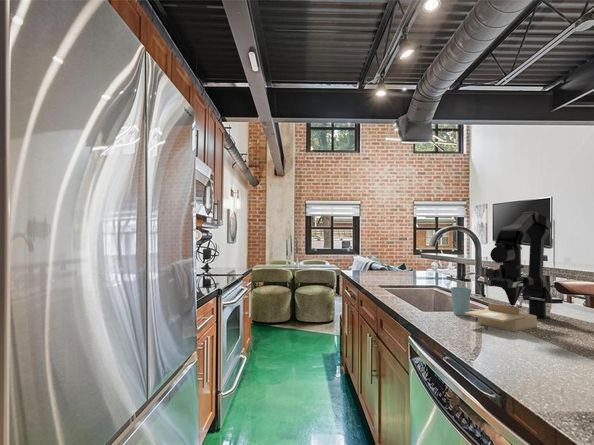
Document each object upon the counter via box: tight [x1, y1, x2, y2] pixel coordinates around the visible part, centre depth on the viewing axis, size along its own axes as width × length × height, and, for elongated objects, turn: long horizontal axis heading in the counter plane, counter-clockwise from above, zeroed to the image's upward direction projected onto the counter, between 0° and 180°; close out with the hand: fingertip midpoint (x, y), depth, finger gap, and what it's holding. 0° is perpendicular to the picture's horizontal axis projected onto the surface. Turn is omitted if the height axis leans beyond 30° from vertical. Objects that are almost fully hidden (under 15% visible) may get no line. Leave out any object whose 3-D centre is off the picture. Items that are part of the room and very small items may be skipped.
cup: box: [450, 286, 472, 316], centre depth 145 cm, size 8×8×10 cm
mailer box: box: [477, 312, 538, 333], centre depth 126 cm, size 14×13×4 cm
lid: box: [465, 302, 525, 322], centre depth 122 cm, size 14×13×3 cm
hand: (512, 305), depth 128 cm, fingers closed
